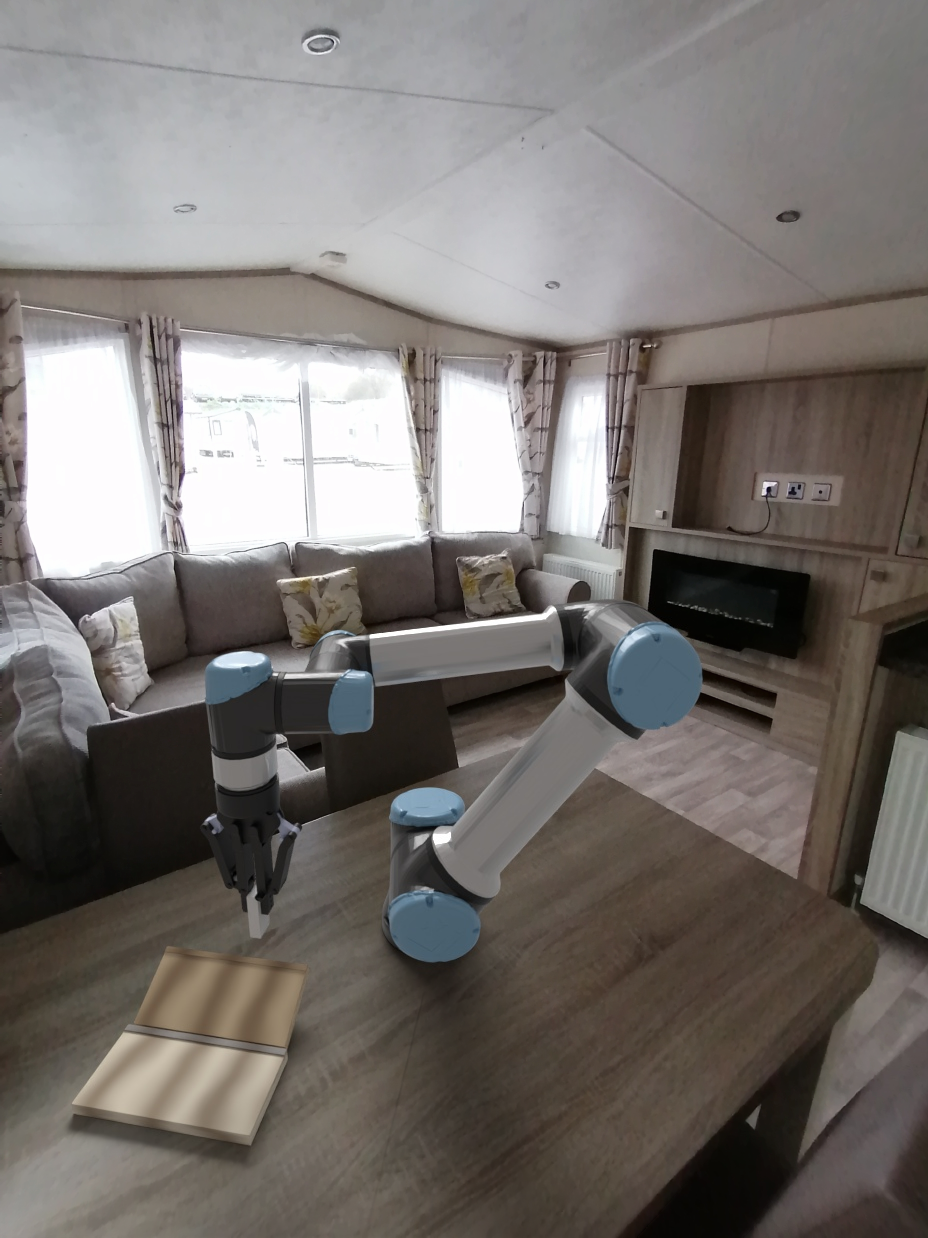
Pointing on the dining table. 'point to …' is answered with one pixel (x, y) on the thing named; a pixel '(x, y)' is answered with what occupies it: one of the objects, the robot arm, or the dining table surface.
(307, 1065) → the dining table surface
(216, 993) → the plank
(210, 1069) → the laid board
